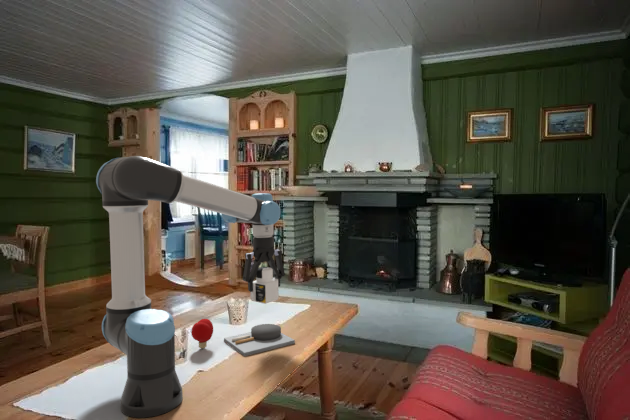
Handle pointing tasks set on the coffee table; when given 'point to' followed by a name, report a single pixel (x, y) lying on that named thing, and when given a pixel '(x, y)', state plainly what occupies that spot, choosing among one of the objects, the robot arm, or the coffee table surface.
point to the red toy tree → (202, 332)
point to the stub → (266, 332)
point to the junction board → (256, 343)
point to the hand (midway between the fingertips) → (264, 297)
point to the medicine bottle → (265, 285)
